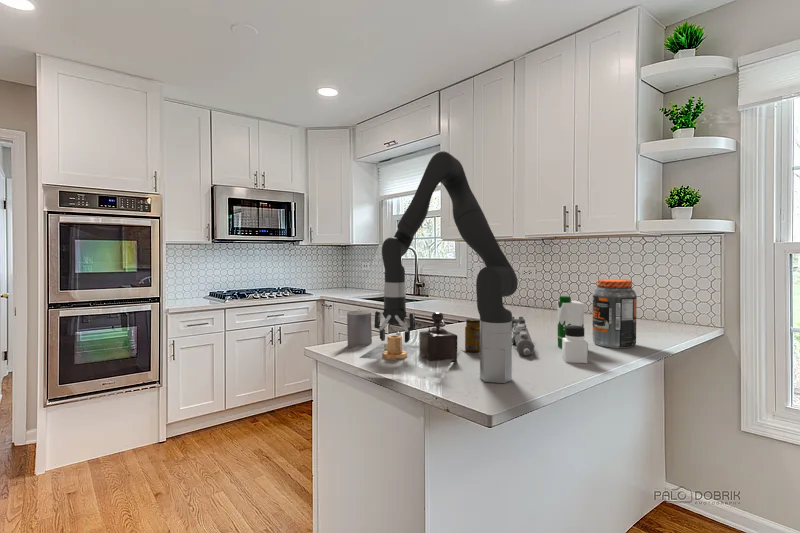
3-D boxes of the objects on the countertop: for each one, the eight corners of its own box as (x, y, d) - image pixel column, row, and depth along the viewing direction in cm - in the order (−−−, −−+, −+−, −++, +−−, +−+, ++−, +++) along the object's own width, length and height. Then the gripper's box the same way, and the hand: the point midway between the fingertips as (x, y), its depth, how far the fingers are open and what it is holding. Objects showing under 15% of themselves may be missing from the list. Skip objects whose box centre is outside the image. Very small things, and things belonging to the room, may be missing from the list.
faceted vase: (402, 360, 146) (402, 339, 146) (379, 358, 148) (379, 338, 148) (409, 354, 154) (409, 335, 153) (387, 353, 156) (387, 334, 156)
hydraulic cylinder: (524, 332, 188) (524, 310, 186) (536, 368, 152) (537, 342, 150) (506, 332, 189) (507, 310, 187) (515, 368, 154) (515, 341, 152)
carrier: (403, 364, 145) (403, 343, 145) (359, 361, 150) (358, 340, 150) (421, 348, 168) (421, 330, 168) (382, 346, 173) (382, 328, 173)
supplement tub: (586, 340, 182) (587, 278, 181) (626, 340, 180) (626, 278, 180) (600, 348, 166) (600, 281, 165) (643, 349, 165) (644, 281, 164)
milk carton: (554, 346, 172) (555, 295, 171) (577, 346, 171) (578, 295, 171) (562, 351, 163) (563, 298, 162) (587, 351, 163) (587, 297, 162)
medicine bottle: (588, 363, 145) (588, 327, 144) (565, 362, 146) (565, 327, 146) (583, 358, 152) (583, 324, 151) (561, 357, 153) (562, 323, 153)
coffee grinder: (416, 357, 154) (416, 307, 154) (445, 355, 158) (445, 305, 157) (434, 368, 140) (434, 313, 139) (465, 365, 143) (465, 311, 143)
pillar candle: (353, 343, 180) (352, 307, 179) (375, 344, 177) (374, 307, 177) (343, 348, 171) (342, 310, 170) (367, 349, 168) (366, 311, 167)
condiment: (478, 348, 168) (478, 317, 168) (487, 353, 160) (487, 321, 159) (460, 349, 167) (460, 318, 166) (468, 354, 158) (468, 322, 158)
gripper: (371, 295, 149) (371, 342, 150) (411, 297, 145) (411, 345, 145) (379, 293, 156) (379, 338, 157) (417, 294, 152) (417, 340, 153)
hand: (394, 341), depth 151 cm, fingers open, 8 cm apart
